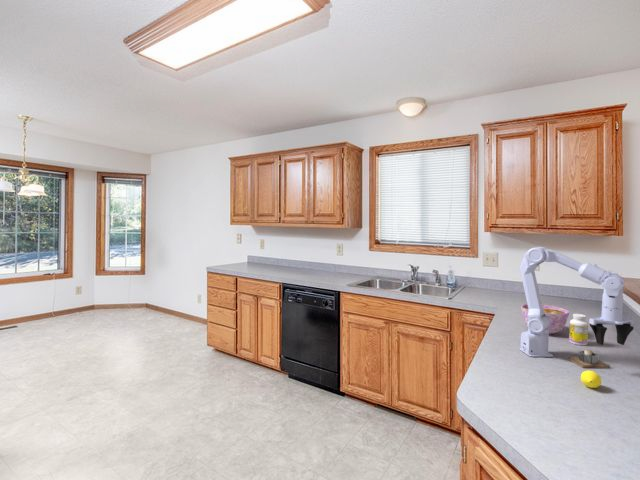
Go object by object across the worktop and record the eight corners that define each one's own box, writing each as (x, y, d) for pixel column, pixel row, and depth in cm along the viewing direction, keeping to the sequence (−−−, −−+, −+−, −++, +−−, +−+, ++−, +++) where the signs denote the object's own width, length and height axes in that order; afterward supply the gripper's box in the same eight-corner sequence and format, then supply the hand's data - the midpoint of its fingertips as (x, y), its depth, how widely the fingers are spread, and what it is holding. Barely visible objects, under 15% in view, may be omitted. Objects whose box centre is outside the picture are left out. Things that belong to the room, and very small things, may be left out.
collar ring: (586, 364, 128) (587, 356, 127) (575, 358, 133) (575, 350, 133) (601, 364, 128) (602, 356, 127) (589, 358, 133) (590, 350, 133)
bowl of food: (553, 326, 177) (554, 304, 177) (578, 339, 157) (579, 314, 157) (512, 325, 179) (513, 303, 179) (532, 337, 159) (533, 313, 159)
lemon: (580, 382, 116) (581, 366, 116) (601, 387, 113) (602, 371, 113) (579, 387, 111) (580, 370, 111) (600, 392, 107) (601, 375, 108)
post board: (582, 367, 127) (583, 354, 126) (567, 359, 135) (567, 346, 134) (609, 368, 127) (610, 354, 126) (592, 359, 135) (593, 346, 134)
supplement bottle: (569, 339, 157) (570, 312, 157) (587, 342, 153) (588, 314, 152) (568, 343, 152) (569, 315, 151) (587, 347, 148) (588, 318, 147)
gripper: (601, 310, 119) (599, 347, 120) (642, 310, 119) (640, 348, 120) (585, 305, 126) (583, 340, 127) (624, 305, 126) (622, 341, 127)
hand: (610, 343), depth 124 cm, fingers open, 7 cm apart
